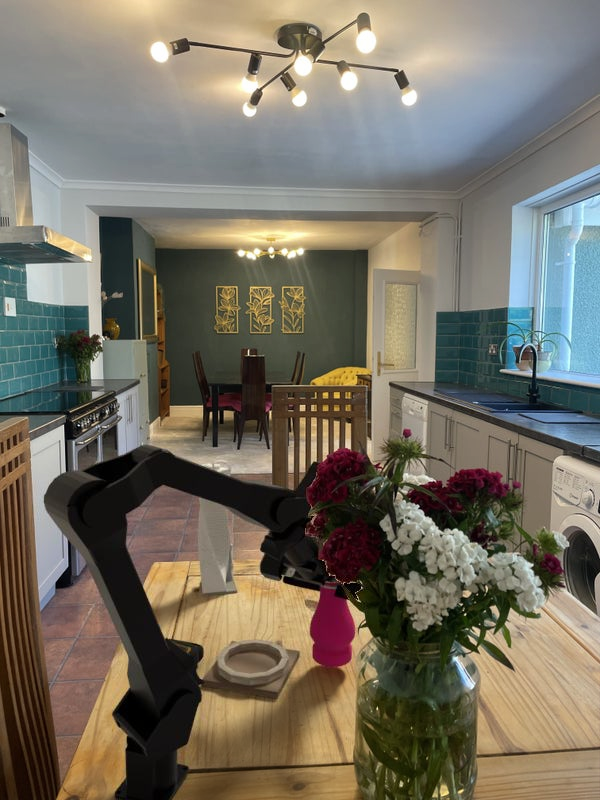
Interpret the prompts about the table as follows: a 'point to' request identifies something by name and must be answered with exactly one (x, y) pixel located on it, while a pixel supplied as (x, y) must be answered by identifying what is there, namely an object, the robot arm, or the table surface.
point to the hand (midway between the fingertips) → (336, 592)
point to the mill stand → (252, 668)
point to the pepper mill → (332, 628)
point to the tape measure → (191, 649)
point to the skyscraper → (215, 544)
